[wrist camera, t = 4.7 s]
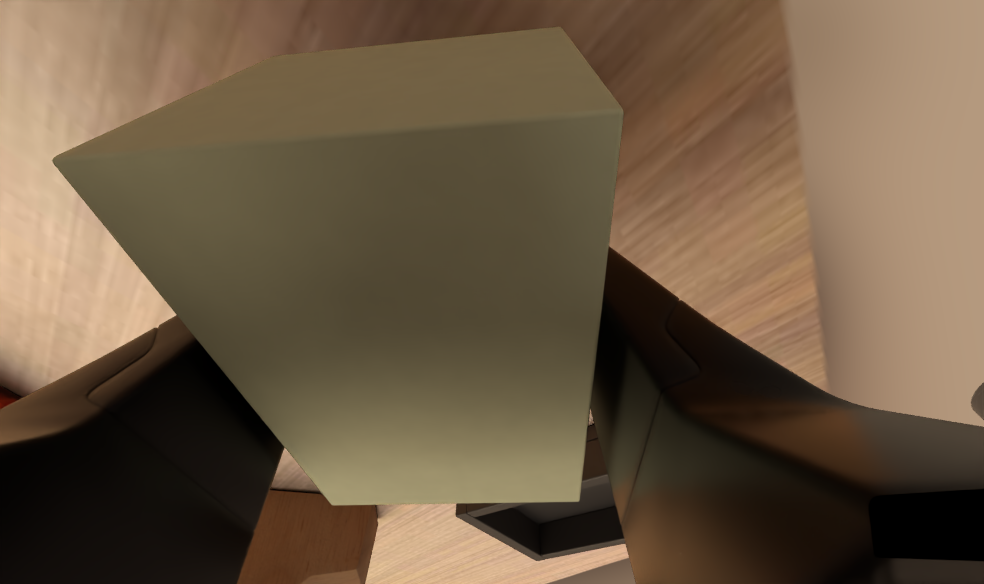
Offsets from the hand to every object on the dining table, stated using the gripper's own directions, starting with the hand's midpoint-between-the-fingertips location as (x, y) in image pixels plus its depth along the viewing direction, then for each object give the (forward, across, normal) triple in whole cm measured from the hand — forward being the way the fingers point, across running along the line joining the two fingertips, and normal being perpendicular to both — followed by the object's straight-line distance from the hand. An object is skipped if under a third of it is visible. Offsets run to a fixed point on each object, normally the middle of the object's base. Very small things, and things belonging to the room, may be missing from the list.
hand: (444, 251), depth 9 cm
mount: (+4, -4, +21) cm, 22 cm away
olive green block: (+1, 0, 0) cm, 1 cm away
